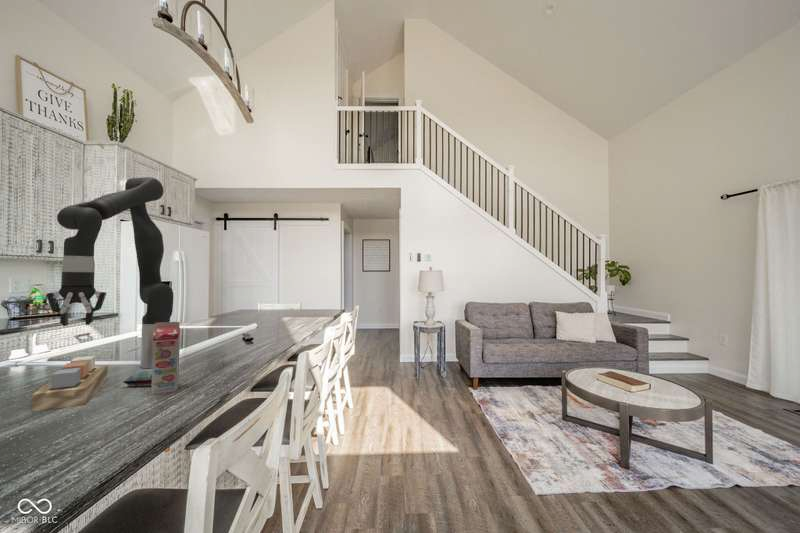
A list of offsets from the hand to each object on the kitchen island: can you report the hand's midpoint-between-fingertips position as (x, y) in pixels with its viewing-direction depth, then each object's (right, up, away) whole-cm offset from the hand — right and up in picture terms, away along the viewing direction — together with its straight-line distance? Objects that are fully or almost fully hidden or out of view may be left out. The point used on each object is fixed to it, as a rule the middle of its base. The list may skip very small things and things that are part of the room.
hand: (76, 324), depth 107 cm
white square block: (-4, -16, +7) cm, 18 cm away
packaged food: (+15, -22, +10) cm, 29 cm away
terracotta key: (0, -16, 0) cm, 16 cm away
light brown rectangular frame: (0, -21, 0) cm, 21 cm away
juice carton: (+25, -22, +5) cm, 33 cm away
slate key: (+4, -16, -7) cm, 18 cm away
